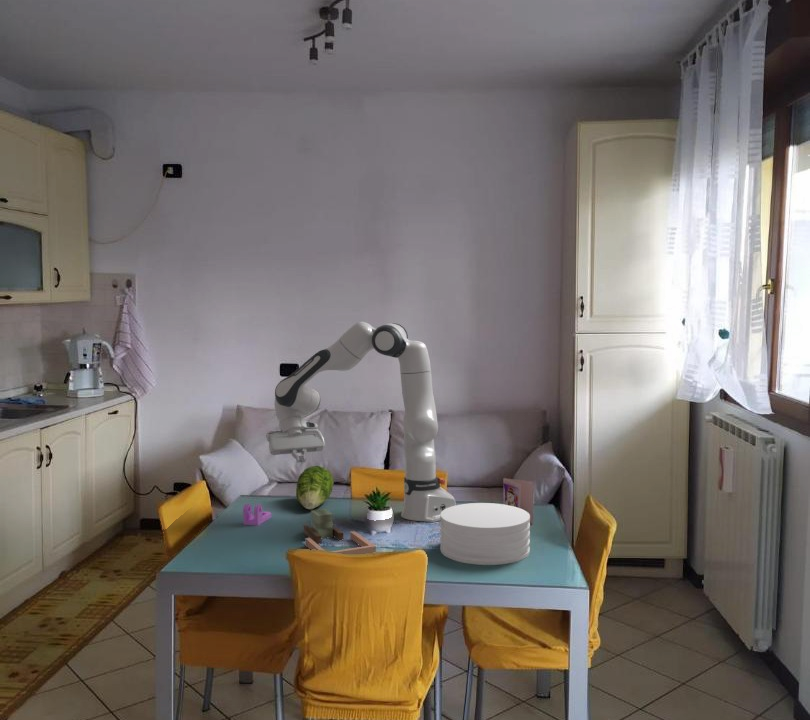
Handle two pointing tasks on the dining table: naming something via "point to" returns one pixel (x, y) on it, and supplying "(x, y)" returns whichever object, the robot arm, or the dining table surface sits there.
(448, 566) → the dining table surface
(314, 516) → the sage block
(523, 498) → the greeting card
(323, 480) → the lettuce
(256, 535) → the dining table surface
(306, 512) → the dining table surface
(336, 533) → the walnut chute
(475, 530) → the plate stack
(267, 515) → the bracket
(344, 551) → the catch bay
